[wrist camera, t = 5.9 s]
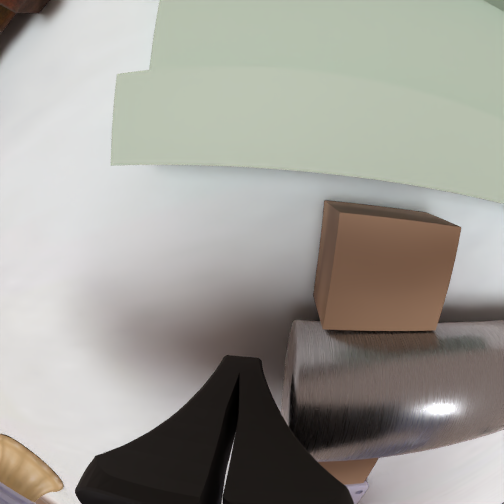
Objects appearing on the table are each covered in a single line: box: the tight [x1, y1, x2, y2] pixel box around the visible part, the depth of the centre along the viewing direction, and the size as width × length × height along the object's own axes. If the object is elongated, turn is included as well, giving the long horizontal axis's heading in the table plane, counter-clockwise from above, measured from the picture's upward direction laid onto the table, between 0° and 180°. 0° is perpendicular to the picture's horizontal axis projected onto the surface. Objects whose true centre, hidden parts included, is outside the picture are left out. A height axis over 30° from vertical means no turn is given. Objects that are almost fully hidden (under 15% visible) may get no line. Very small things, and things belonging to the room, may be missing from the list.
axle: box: [281, 320, 504, 462], centre depth 10 cm, size 14×5×5 cm, turn 87°
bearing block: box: [313, 200, 461, 485], centre depth 11 cm, size 13×4×2 cm, turn 177°
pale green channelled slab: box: [111, 0, 504, 204], centre depth 7 cm, size 11×16×3 cm
